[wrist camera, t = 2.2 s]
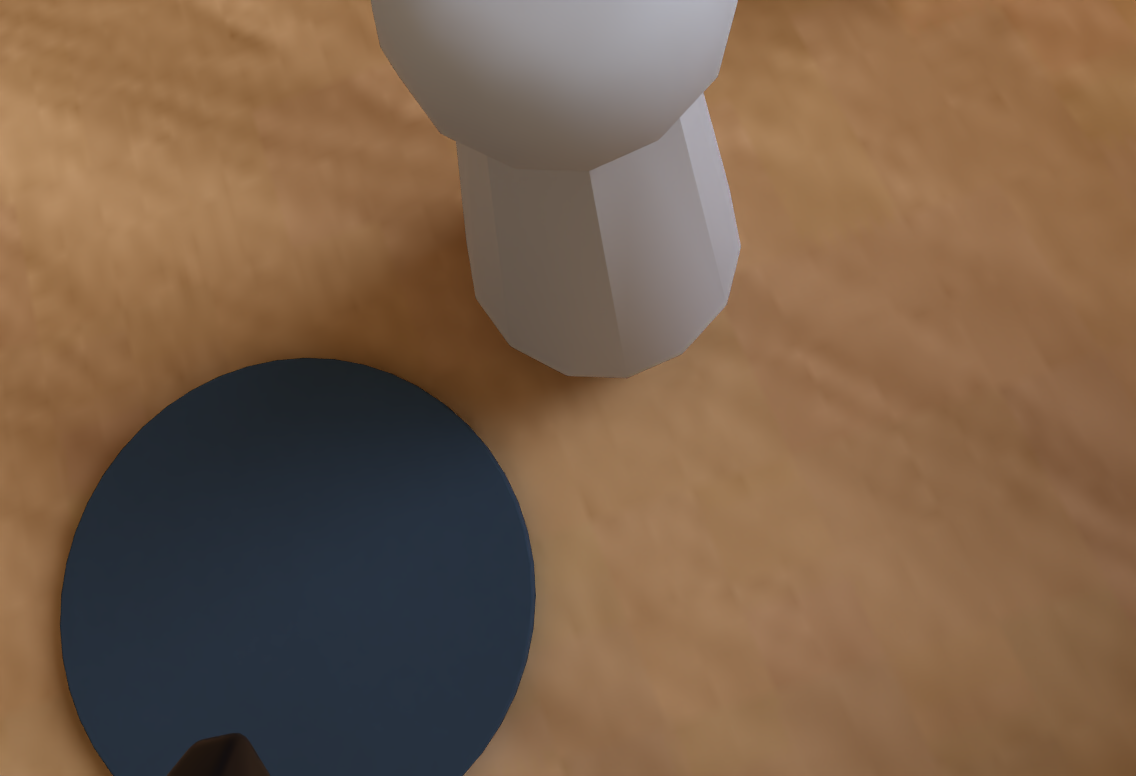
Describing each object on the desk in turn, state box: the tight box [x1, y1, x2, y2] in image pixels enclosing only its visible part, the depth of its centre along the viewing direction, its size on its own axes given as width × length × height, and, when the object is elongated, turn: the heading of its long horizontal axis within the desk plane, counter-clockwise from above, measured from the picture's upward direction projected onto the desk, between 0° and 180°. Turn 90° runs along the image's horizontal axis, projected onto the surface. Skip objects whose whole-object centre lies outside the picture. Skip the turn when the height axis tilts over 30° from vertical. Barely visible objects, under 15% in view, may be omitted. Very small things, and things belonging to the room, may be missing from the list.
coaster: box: [60, 358, 536, 776], centre depth 21 cm, size 11×11×1 cm
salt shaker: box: [371, 0, 741, 378], centre depth 16 cm, size 6×6×13 cm
